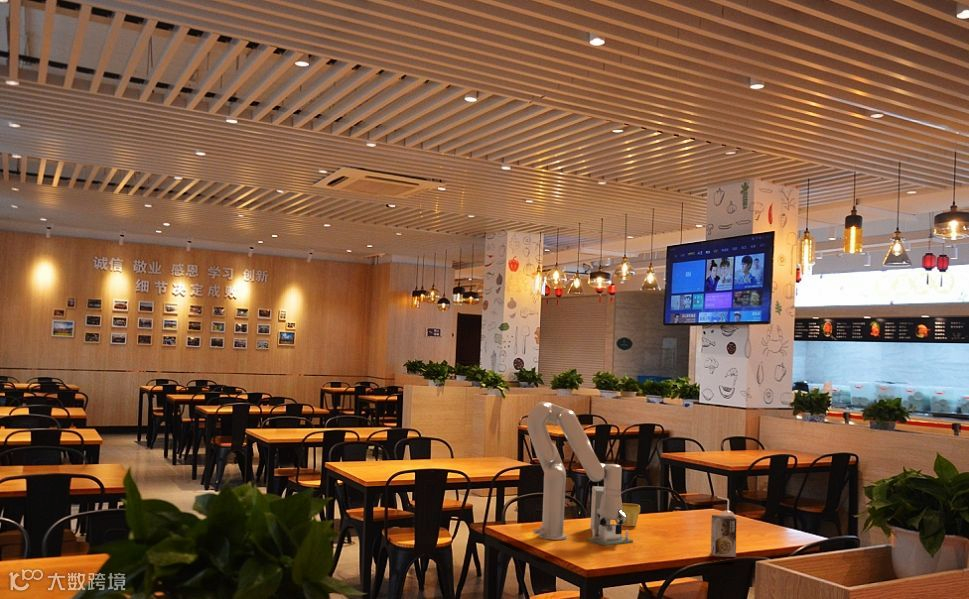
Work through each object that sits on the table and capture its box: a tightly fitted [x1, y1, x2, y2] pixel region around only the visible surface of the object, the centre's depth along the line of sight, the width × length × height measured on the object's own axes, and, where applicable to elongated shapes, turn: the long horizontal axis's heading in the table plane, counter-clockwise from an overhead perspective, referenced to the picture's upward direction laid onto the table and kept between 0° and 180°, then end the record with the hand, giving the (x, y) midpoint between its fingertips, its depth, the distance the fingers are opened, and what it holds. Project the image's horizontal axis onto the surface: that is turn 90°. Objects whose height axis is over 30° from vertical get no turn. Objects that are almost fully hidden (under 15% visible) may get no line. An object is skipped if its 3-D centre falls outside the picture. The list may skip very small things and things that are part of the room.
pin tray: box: [587, 529, 634, 547], centre depth 377 cm, size 17×11×5 cm, turn 126°
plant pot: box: [622, 503, 641, 527], centre depth 416 cm, size 10×10×10 cm
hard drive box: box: [590, 485, 612, 536], centre depth 397 cm, size 16×8×20 cm, turn 179°
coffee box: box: [710, 514, 738, 558], centre depth 362 cm, size 9×6×16 cm
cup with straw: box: [716, 495, 738, 520], centre depth 391 cm, size 8×9×20 cm
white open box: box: [597, 523, 623, 541], centre depth 377 cm, size 10×4×6 cm, turn 123°
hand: (610, 531), depth 377 cm, fingers open, 9 cm apart
